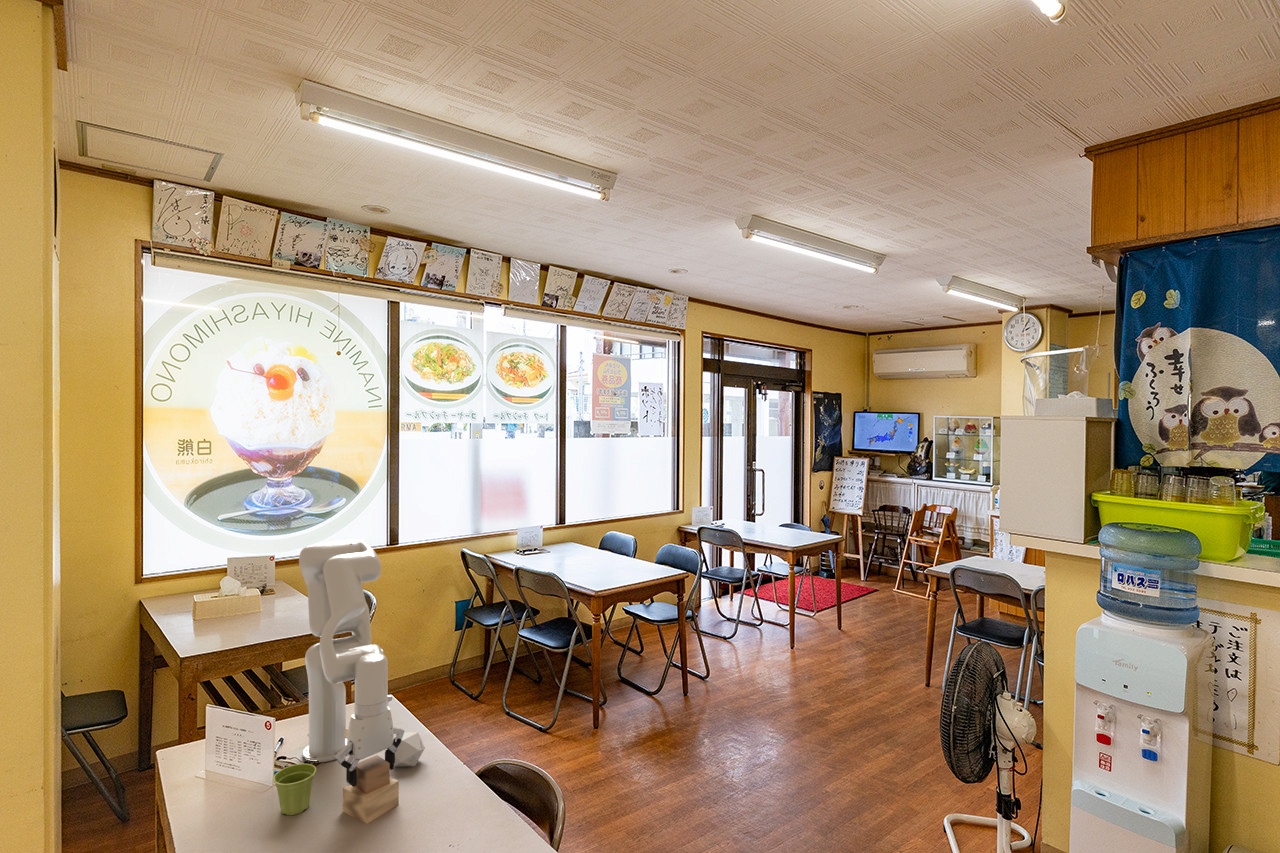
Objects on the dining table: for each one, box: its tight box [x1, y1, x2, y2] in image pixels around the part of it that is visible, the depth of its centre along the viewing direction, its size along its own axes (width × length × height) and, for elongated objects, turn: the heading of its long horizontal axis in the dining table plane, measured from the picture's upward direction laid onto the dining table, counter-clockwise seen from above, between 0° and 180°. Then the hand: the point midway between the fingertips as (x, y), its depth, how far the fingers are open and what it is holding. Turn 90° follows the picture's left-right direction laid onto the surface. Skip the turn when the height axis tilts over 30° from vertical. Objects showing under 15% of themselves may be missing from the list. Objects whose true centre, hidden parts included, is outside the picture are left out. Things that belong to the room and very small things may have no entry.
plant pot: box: [272, 763, 317, 816], centre depth 161 cm, size 9×9×9 cm
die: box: [394, 731, 426, 767], centre depth 183 cm, size 8×9×10 cm
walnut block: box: [355, 754, 391, 794], centre depth 162 cm, size 6×6×5 cm
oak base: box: [342, 777, 400, 824], centre depth 162 cm, size 9×9×6 cm
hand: (371, 775), depth 162 cm, fingers open, 9 cm apart
